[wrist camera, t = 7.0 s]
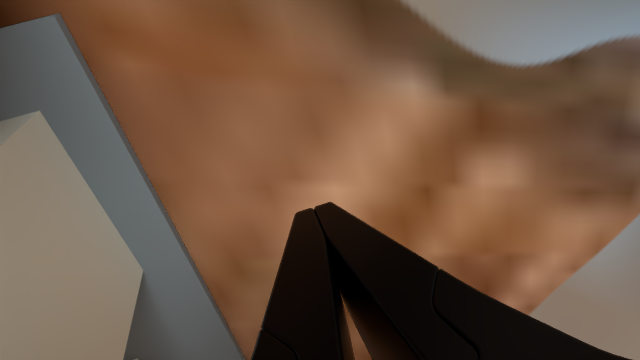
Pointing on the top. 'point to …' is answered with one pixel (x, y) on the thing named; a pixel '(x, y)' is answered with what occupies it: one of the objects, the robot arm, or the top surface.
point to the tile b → (58, 255)
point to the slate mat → (114, 191)
